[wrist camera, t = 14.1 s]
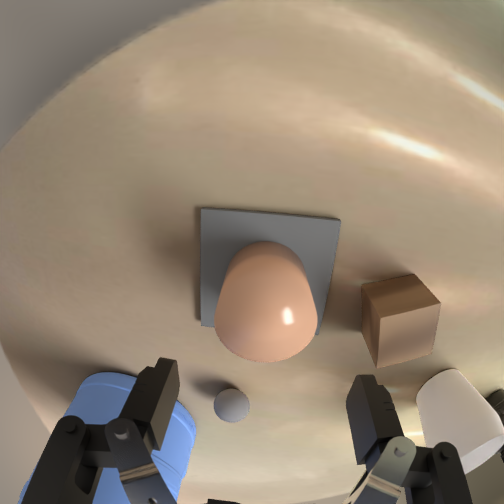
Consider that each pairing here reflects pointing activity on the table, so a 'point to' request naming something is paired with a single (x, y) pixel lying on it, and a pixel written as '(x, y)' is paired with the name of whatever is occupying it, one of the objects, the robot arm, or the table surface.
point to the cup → (459, 418)
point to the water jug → (108, 408)
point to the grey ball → (231, 405)
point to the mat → (257, 230)
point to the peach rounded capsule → (265, 304)
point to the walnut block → (399, 319)
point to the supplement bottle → (498, 411)
